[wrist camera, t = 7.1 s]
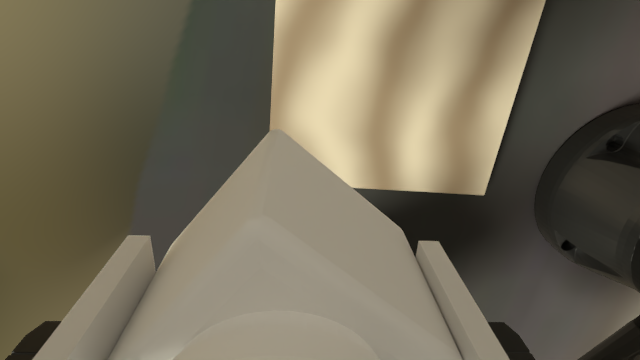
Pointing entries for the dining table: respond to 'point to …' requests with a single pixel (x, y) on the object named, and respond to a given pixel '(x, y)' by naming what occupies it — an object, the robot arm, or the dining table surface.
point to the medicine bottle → (287, 275)
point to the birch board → (401, 86)
